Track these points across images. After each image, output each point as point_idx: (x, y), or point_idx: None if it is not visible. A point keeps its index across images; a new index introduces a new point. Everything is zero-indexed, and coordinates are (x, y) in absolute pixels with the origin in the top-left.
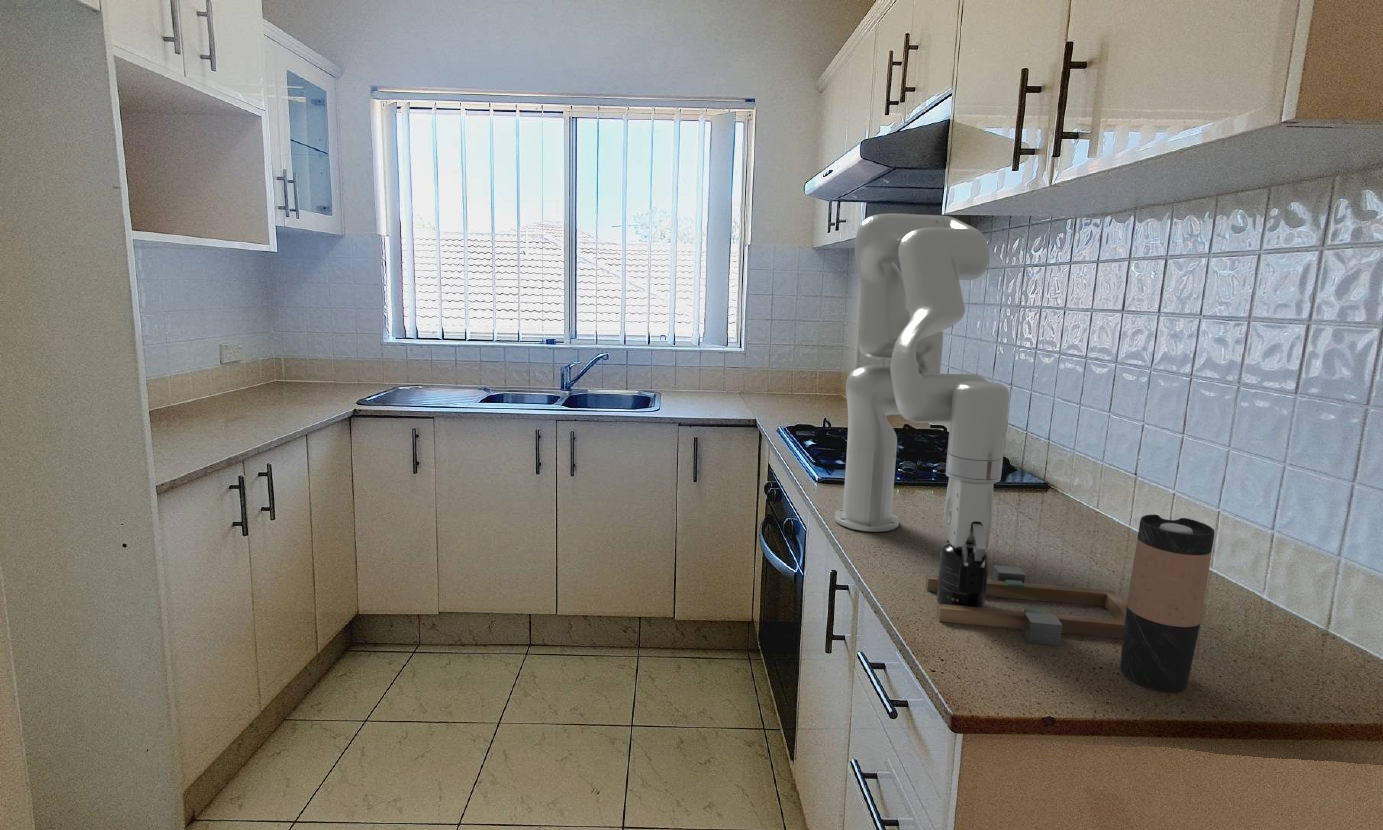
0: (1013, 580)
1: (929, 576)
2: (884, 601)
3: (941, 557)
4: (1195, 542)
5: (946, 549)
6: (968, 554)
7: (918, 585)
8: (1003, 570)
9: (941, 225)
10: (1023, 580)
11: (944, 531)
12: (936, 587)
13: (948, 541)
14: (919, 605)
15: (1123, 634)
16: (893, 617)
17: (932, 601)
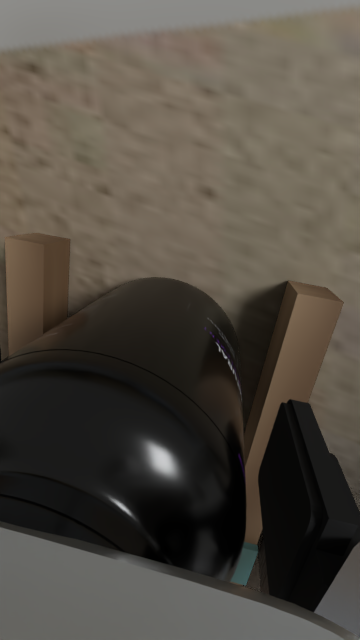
0: (250, 568)
1: (325, 308)
2: (183, 41)
3: (71, 346)
4: None
5: (19, 411)
6: None
7: (344, 262)
8: None
9: None
10: (262, 592)
11: (165, 589)
12: (280, 317)
13: (326, 519)
14: (154, 202)
15: None
16: (36, 48)
17: (191, 266)
